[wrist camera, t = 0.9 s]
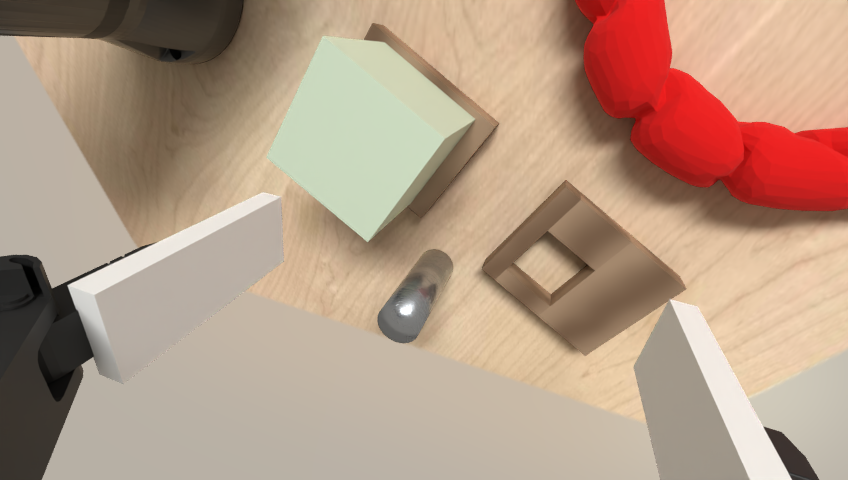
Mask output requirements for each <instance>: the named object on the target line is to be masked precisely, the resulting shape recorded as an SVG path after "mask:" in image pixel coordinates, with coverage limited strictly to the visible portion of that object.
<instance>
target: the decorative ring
mask: <svg viewBox="0 0 848 480" xmlns="http://www.w3.org/2000/svg"><path fill="white" fill-rule="evenodd" d="M575 2H576V4H577V5H578V7H579V9H580V11H581V12H582V13H583V15H585V16H586V17H587V18H588V19H589V20H590V21H591V22H592V23H593V24H594V25H593V27H592V29H591V31H590V33H589V34H588V36H587V39H586V42H585V44H584V69H585V72H586V75H587V77H588V80H589V82H590V85H591V87H592V89H593V91H594V93H595V95H596V97H597V99H598V101H599V102H600V104H601V106H602V108H603V110H604V112H606V113H607V114H609V115H610V116H611V117H615V118H624V117H626V118H635V119H636V122H635V124H634V126H633V128H632V131H631V138H630V140H631V142H632V143H633V145H634V147H635V148H636V149H637V150H638V151H639V152H640V153H641V154H643V155H644V156H645V157H646V158H647V159H648V160H650V161H651V162H652V163H654V164H655V165H657V166H658V167H660V168H661V169H663V170H664V171H666V172H667V173H669V174H670V175H672V176H674V177H676V178H678V179H680V180H682V181H684V182H686V183H688V184H690V185H693V186H697V187H710V186H712V185H713V184H714V183H715V182H717V181H718V180H721V181H722V182H723V183H724V185H725V186H726V187H727V189H728V190H729V192H730V193H731V195H732V196H734V197H735V198H737V199H738V200H740V201H742V202H745V203H748V204H753V205H759V206H765V207H771V208H777V209H788V210H801V211H836V210H842V209H848V127H845V128H833V129H820V130H807V131H801V132H798V133H793V132H791V131H789V130H788V129H786V128H785V127H782V126H778V125H774V124H770V123H766V122H752V123H748V122H738V121H737V120H736V118H735V117H734V116H733V115H732V114H731V113H730V112H729V110H728V109H727V108H726V107H725V106H724V105H723V103H722V102H721V101H720V100H718V99H717V98H716V97H715V96H713V95H712V94H711V93H710V92H708V91H707V90H706V89H705V88H704V87H703V86H702V85H701V84H700V83H699V82H698V81H696V80H695V79H694V78H693V77H692V76H690V75H689V74H687V73H685V72H682V71H680V70H677V69H674V68H670V64H671V59H672V48H671V42H670V36H669V30H668V24H667V17H666V10H665V3H664V0H575Z"/></svg>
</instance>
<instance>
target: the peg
mask: <svg viewBox="0 0 848 480" xmlns="http://www.w3.org/2000/svg"><path fill="white" fill-rule="evenodd" d="M452 272H453V263H452V261H451V259H450V257H449V256H448V255H447V254H446V253H444V252H442V251H440V250H435V249H433V250H428V251H426V252H425V253H424V254H423V255H422V256H421V257H420V259H419V260H418V261H417V263H416V264H415V265H414V267H413V268H412V269H411V271H410V272H409V273H408V275H407V276H406V277H405V279H404V280H403V281H402V283H401V284H400V285H399V287H398V288H397V289H396V291H395V292H394V293H393V295H392V296H391V297H390V299H389V300H388V301H387V303H386V304H385V305H384V307H383V308H382V309H381V311H380V312H379V314H378V325H379V328H380V329H381V331H382V332H383V334H384V335H385V336H387V337H388V338H389V339H391V340H393V341H395V342H398V343H409V342H412V341H413V340H415V339H416V337H417V336H418V334H419V332H420V330H421V329H422V327H423V325H424V323H425V321H426V320H427V318H428V316H429V314H430V312H431V310H432V309H433V307H434V305H435V303H436V301H437V299H438V298H439V296H440V294H441V292H442V290H443V288H444V287H445V285H446V283H447V281H448V279H449V277H450V276H451V274H452Z"/></svg>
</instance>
